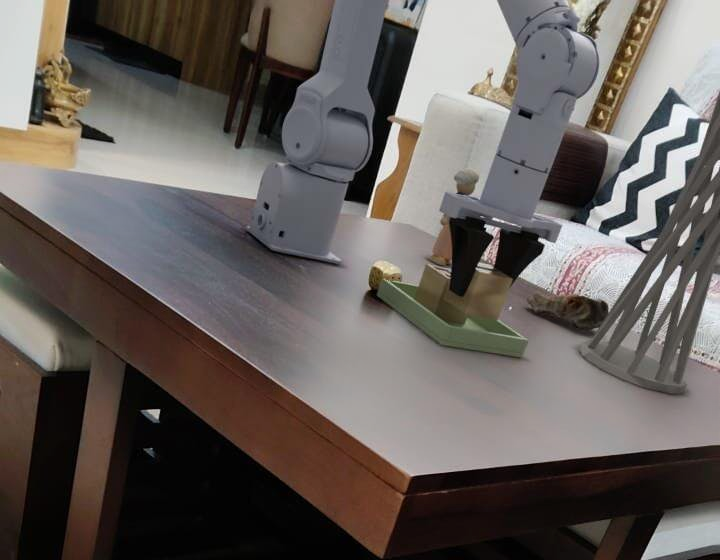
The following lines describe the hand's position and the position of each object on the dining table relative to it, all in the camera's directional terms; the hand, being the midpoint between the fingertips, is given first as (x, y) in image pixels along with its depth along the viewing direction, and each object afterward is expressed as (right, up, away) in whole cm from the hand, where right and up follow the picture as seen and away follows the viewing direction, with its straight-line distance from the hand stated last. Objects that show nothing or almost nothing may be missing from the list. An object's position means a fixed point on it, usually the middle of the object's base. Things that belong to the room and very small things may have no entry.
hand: (474, 296), depth 106 cm
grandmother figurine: (-1, +17, +35) cm, 39 cm away
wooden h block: (-3, 0, +5) cm, 6 cm away
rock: (+15, +5, +26) cm, 31 cm away
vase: (+21, -4, +14) cm, 26 cm away
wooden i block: (0, -1, +1) cm, 1 cm away
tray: (-2, -2, +4) cm, 5 cm away
